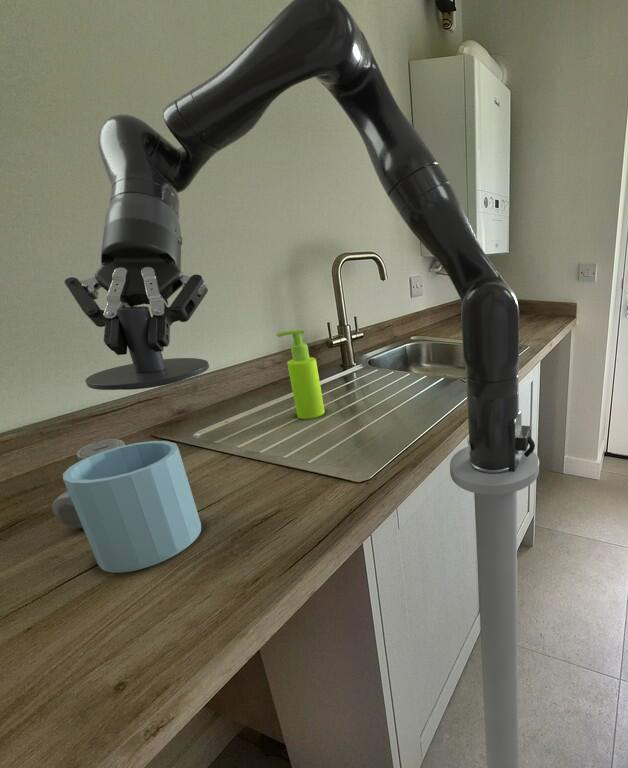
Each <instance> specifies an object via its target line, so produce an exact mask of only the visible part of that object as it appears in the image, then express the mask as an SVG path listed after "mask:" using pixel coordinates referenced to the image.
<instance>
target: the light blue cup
mask: <svg viewBox="0 0 628 768" xmlns="http://www.w3.org/2000/svg"><path fill="white" fill-rule="evenodd" d="M62 480H63V483H64V486H65V488H66V487H67V490H68V492H69V495H70V497H71V500H72V502H73V505H74V507H75V509H76V512H77V514H78V517H79V519H80V522H81V524H82V526H83V529H82V530H83V531H84V533H85V536H86V539H87V541H88V543H89V546H90V548H91V552H92V553H93V556H94V558H95V561H96V563H97V565H98V567H99V568H100V569H101V570H103V571H104V572H108V573H114V574H118V573H119V574H123V573H130V572H134V571H139V570H143V569H146V568H149V567H152V566H155V565H158V564H160V563H163V562H165V561H167V560H168V559H171V558H172V557H174V556H176V555H177V554H179V553H181V552H183V551H184V550H185V549H187V548H189V546H191V544H193V543H194V542H195V541H196V540H197V539H198V537H199V536H200V534H201V531H202V522H201V519H200V516H199V513H198V509H197V506H196V503H195V499H194V496H193V492H192V489H191V486H190V483H189V478H188V476H187V471H186V468H185V466H184V462H183V460H182V455H181V452H180V449H179V446H178V445H177V443H175V442H172V441H168V440H150V441H142V442H141V441H140V442H134V443H129V444H125V446H120V447H117V448H113V449H110V450H107V451H103V452H100V453H98V454H95V455H93V456H90V457H88V458H85V459H83V460H81V461H79V460H78V462H76V463H74V464H72V465H70V466H69V467H68V468H67V469H66V470H65V471H64V472H63V473H62Z"/></svg>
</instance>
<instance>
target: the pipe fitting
mask: <svg viewBox="0 0 628 768" xmlns="http://www.w3.org/2000/svg"><path fill="white" fill-rule="evenodd" d="M125 445H126V444H125V442H124V441H123V440H121V439H118V438H109V439H102V440H97V441H94V442H91V443H89V444H87V445H84V446H83V447H81V448H80V449H79V450H78V451H77V452H76V457H77V460H78V462H79V461H81V460H83V459H85V458H88V457H90V456H93V455H95V454H98V453H100V452H103V451H107V450H110V449H113V448H117V447H120V446H125ZM51 511H52V514H53V515H54V517H55V519H57V521H59V522H60V523H62V524H63V525H65V526H68V527H71V528H76V529H82V530H84V529H83V526H82V524H81V522H80V519H79V517H78V514H77V512H76V509H75V507H74V505H73V502H72V500H71V497H70V495H69V492H68V490H67V487H66V486H65V491H64V492H62V493H61V494H60V495H59V496H58V497H56V498H55V500H54V501H53V503H52V505H51Z"/></svg>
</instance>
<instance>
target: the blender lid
mask: <svg viewBox="0 0 628 768" xmlns="http://www.w3.org/2000/svg"><path fill="white" fill-rule="evenodd" d="M116 310H117V313H118V317H119V320H120V323H121V326H122V330H123V333H124V336H125V339H126V342H127V350H128V352H129V355H130V359H131V361H132V363H128V364H123V365H119V366H115V367H111V368H108V369H104V370H101V371H98V372H95V373H93V374H91V375H89V376H87V377H86V379H85V380H84V381H85V384H86V387H88V388H89V389H92V390H100V391H118V390H119V391H121V390H123V391H131V390H143V389H150V388H151V389H152V388H156V387H162V386H166V385H171V384H174V383H179V382H183V381H184V380H186V379H189V378H193V377H195V376H198V375H201V374H204V373H205V372H207V371H208V370H209V369H210V364H209V361H207V360H206V359H203V358H198V357H197V358H194V357H176V358H164V357H163V352H162V351H161V352H155V351H154V350H153V349H152V348H151V347H150V345H149V343H148V332H149V317H152V314H151V311H150V308H149V306H144V305H143V306H141V305H138V306H136V307H125V308H119V309H116Z"/></svg>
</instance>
